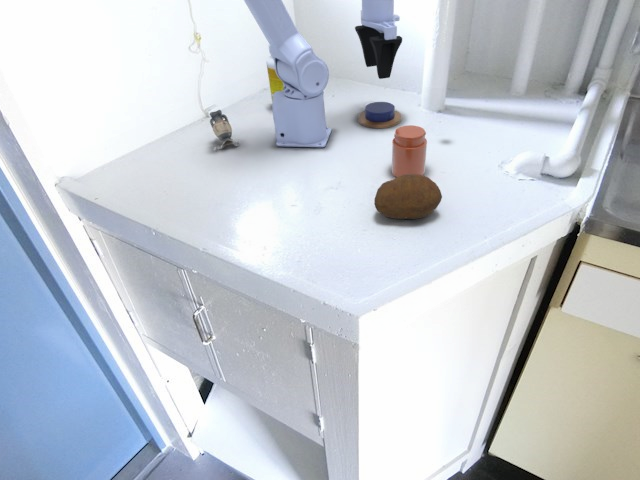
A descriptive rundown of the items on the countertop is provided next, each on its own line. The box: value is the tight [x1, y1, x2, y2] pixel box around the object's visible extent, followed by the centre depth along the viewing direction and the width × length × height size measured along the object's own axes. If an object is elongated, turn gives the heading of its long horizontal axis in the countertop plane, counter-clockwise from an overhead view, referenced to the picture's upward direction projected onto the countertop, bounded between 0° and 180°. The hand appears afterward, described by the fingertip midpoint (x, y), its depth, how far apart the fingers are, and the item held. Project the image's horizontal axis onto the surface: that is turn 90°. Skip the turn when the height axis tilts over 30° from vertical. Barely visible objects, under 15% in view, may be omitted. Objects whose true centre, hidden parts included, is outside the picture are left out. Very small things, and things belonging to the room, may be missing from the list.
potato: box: [373, 174, 443, 220], centre depth 68 cm, size 7×10×6 cm
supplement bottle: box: [265, 43, 283, 101], centre depth 99 cm, size 7×7×13 cm
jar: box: [391, 124, 428, 178], centre depth 78 cm, size 6×6×7 cm
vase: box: [209, 109, 241, 152], centre depth 89 cm, size 5×5×6 cm
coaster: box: [357, 110, 403, 129], centre depth 96 cm, size 9×9×1 cm
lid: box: [364, 101, 396, 122], centre depth 96 cm, size 6×6×2 cm
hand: (377, 71), depth 91 cm, fingers open, 7 cm apart
